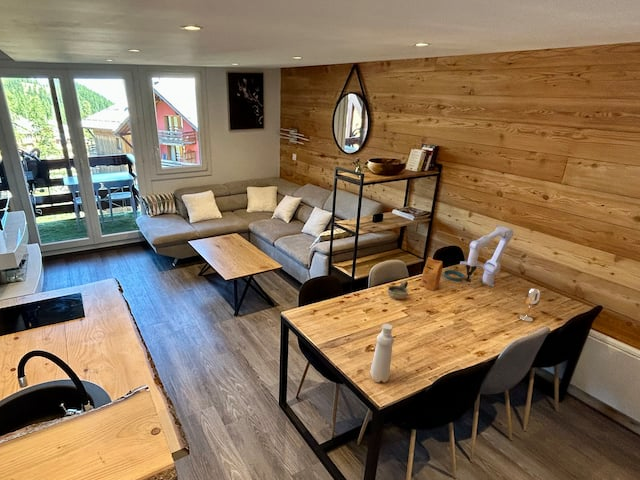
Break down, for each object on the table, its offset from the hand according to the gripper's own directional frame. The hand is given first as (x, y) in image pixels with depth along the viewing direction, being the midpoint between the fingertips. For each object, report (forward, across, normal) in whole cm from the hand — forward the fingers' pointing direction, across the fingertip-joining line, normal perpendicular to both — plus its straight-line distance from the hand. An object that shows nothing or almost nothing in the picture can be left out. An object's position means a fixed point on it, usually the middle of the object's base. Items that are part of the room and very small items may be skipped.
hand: (468, 274), depth 279 cm
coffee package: (+10, -26, -7) cm, 29 cm away
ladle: (+4, 0, 0) cm, 4 cm away
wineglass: (+11, +31, -33) cm, 46 cm away
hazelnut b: (+9, -10, +16) cm, 21 cm away
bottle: (+10, -55, -119) cm, 131 cm away
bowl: (+10, -47, -30) cm, 57 cm away
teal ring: (+10, -8, +13) cm, 18 cm away
